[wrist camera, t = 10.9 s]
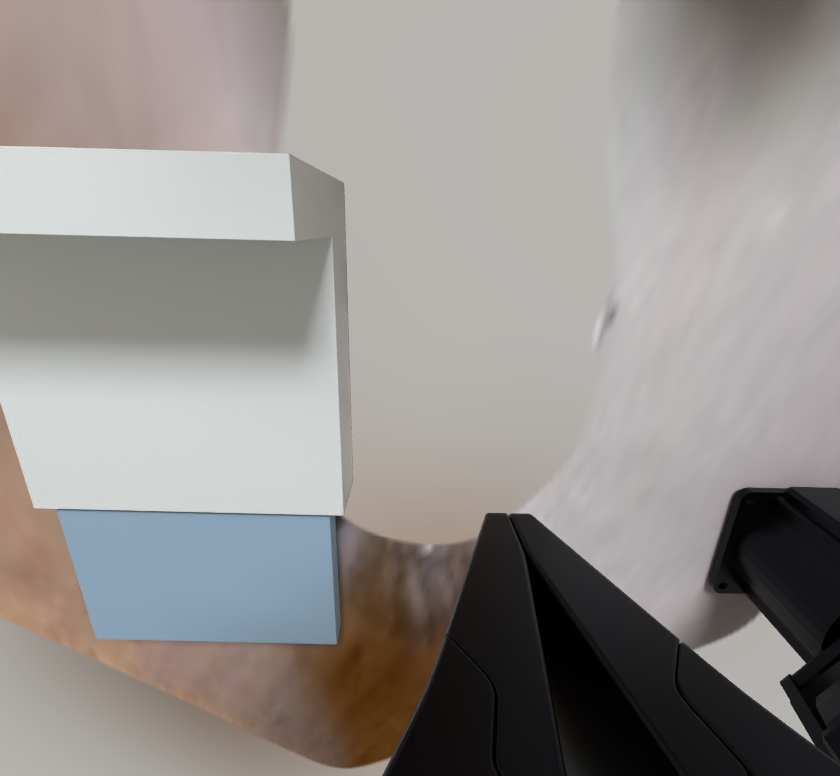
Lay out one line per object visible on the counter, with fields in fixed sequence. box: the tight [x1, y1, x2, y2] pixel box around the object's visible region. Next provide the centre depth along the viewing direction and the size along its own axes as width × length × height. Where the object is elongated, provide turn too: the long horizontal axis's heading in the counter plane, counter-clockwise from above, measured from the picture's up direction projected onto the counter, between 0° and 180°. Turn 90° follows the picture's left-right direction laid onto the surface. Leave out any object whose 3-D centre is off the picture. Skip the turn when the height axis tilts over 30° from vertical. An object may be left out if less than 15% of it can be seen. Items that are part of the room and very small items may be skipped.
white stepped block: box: [0, 146, 353, 516], centre depth 17 cm, size 14×14×8 cm
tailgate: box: [57, 509, 341, 644], centre depth 23 cm, size 2×13×8 cm
